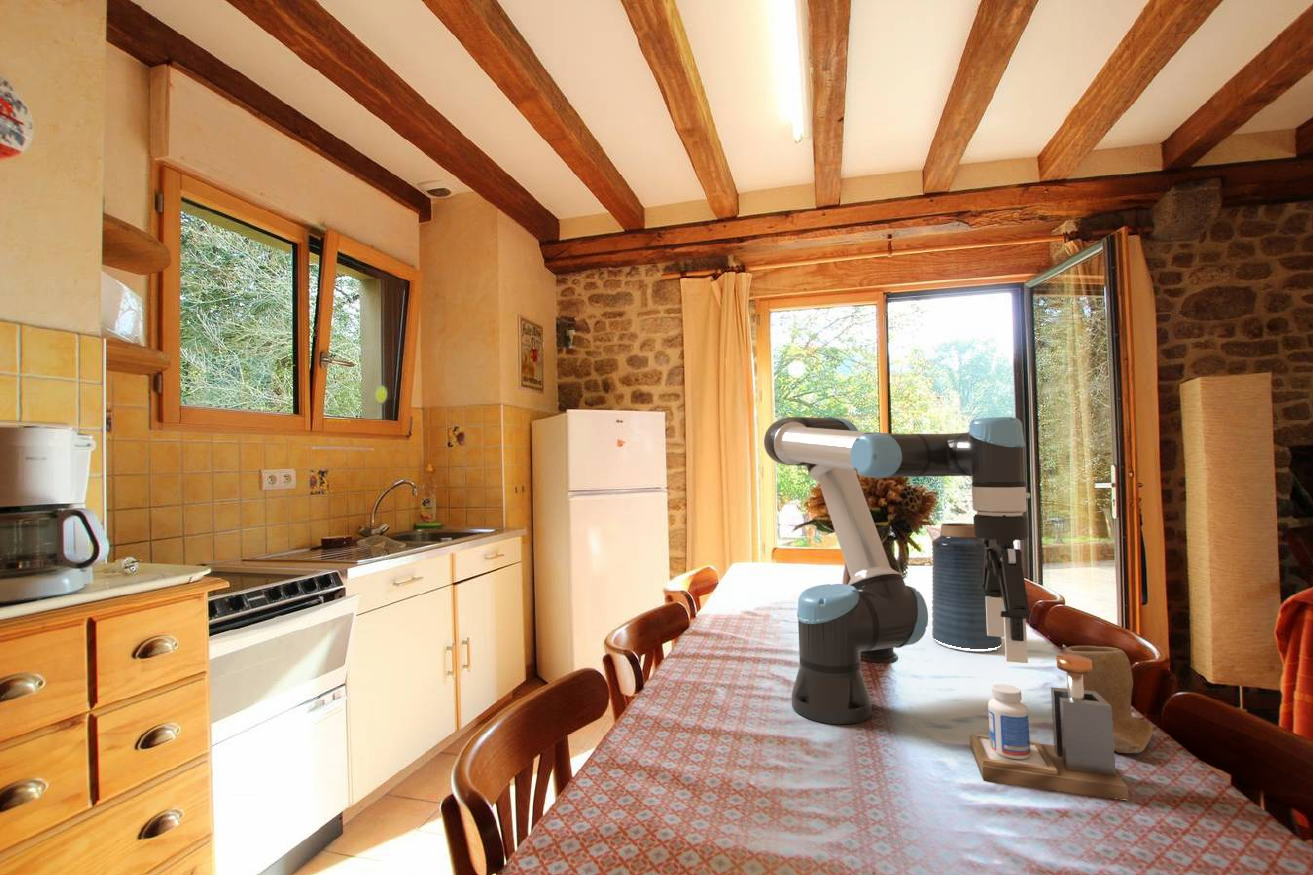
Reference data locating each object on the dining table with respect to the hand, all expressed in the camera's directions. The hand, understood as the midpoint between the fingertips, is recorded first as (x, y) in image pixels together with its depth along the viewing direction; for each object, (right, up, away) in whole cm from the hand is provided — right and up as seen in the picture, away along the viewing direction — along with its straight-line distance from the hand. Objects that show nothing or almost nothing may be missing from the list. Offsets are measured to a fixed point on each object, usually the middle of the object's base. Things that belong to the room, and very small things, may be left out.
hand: (1005, 648), depth 92 cm
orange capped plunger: (+9, -12, -4) cm, 15 cm away
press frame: (+9, -16, -4) cm, 19 cm away
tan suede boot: (+23, -19, +9) cm, 31 cm away
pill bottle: (0, -16, -1) cm, 16 cm away
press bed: (+4, -18, -3) cm, 19 cm away
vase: (+27, -22, +62) cm, 71 cm away
